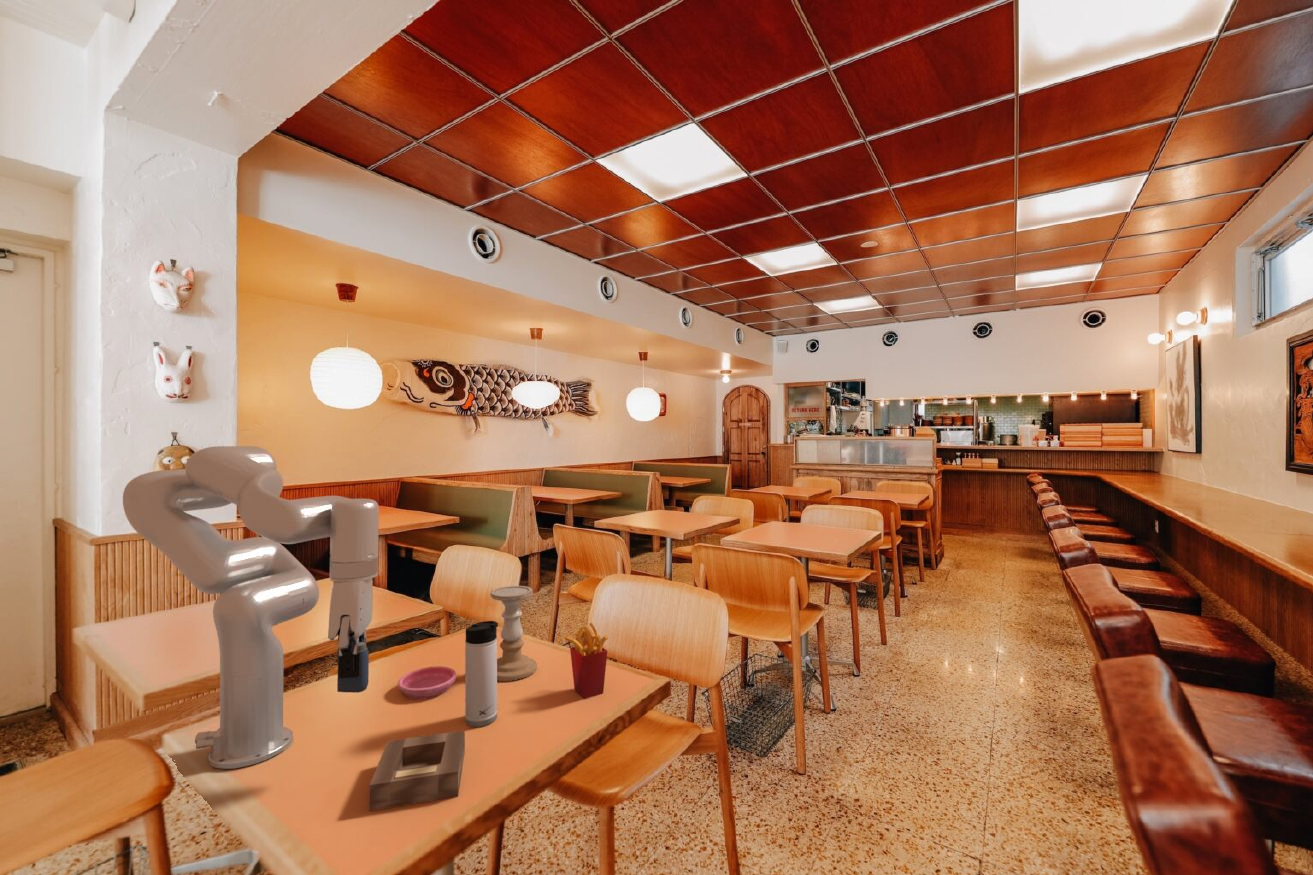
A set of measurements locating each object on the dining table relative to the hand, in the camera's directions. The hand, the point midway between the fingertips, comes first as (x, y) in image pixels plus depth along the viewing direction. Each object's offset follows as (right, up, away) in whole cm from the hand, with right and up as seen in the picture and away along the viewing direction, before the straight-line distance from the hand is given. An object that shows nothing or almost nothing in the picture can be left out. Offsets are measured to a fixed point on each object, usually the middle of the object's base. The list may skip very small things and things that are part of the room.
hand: (352, 671), depth 96 cm
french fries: (+37, -17, +28) cm, 50 cm away
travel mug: (+18, -17, +16) cm, 29 cm away
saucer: (+1, -18, +30) cm, 35 cm away
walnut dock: (+14, -17, -4) cm, 22 cm away
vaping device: (0, -3, 0) cm, 3 cm away
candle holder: (+18, -17, +40) cm, 47 cm away
